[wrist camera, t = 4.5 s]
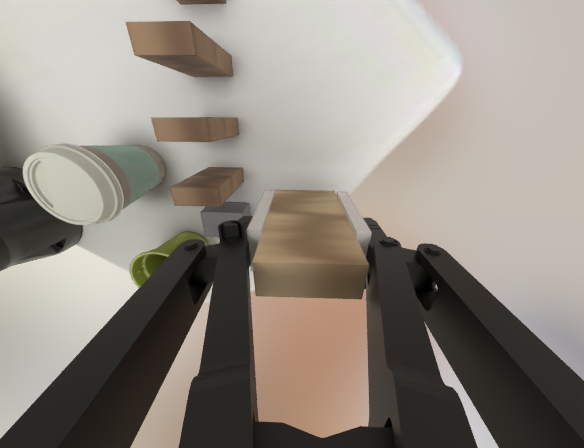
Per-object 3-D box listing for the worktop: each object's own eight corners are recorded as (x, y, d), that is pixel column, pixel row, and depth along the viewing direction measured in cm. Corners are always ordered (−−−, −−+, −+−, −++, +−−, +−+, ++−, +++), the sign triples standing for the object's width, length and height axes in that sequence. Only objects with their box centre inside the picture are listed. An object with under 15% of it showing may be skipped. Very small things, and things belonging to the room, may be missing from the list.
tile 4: (203, 133, 29) (157, 141, 20) (200, 117, 28) (151, 117, 19) (239, 134, 29) (209, 142, 20) (237, 117, 28) (205, 118, 19)
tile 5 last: (211, 180, 32) (174, 205, 23) (208, 167, 31) (169, 187, 22) (243, 181, 31) (219, 206, 23) (242, 167, 31) (216, 188, 22)
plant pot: (202, 275, 40) (178, 312, 33) (157, 248, 38) (119, 281, 30) (228, 244, 37) (208, 278, 29) (179, 212, 34) (143, 239, 27)
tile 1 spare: (276, 211, 19) (255, 296, 10) (275, 190, 18) (252, 261, 9) (332, 212, 19) (362, 299, 10) (334, 191, 18) (369, 265, 9)
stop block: (215, 224, 35) (205, 236, 32) (211, 201, 33) (200, 211, 30) (251, 225, 35) (245, 237, 31) (249, 202, 33) (242, 213, 29)
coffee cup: (135, 121, 28) (33, 123, 18) (186, 169, 31) (124, 196, 20) (106, 162, 31) (3, 186, 21) (155, 203, 34) (87, 243, 23)
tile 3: (193, 76, 26) (134, 55, 17) (189, 56, 25) (125, 22, 16) (233, 76, 26) (195, 54, 17) (231, 55, 25) (189, 21, 16)
